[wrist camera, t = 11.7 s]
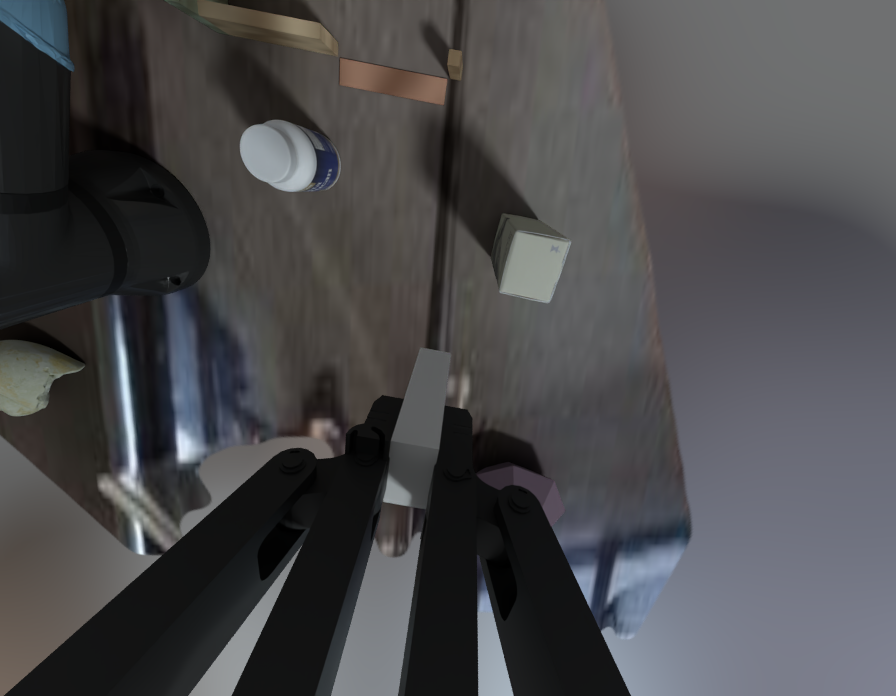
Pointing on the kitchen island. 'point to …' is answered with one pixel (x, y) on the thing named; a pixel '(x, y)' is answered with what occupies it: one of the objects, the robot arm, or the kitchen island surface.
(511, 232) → the box
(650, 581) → the kitchen island surface
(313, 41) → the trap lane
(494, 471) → the flask
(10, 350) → the seashell
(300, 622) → the robot arm
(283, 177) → the pill bottle
